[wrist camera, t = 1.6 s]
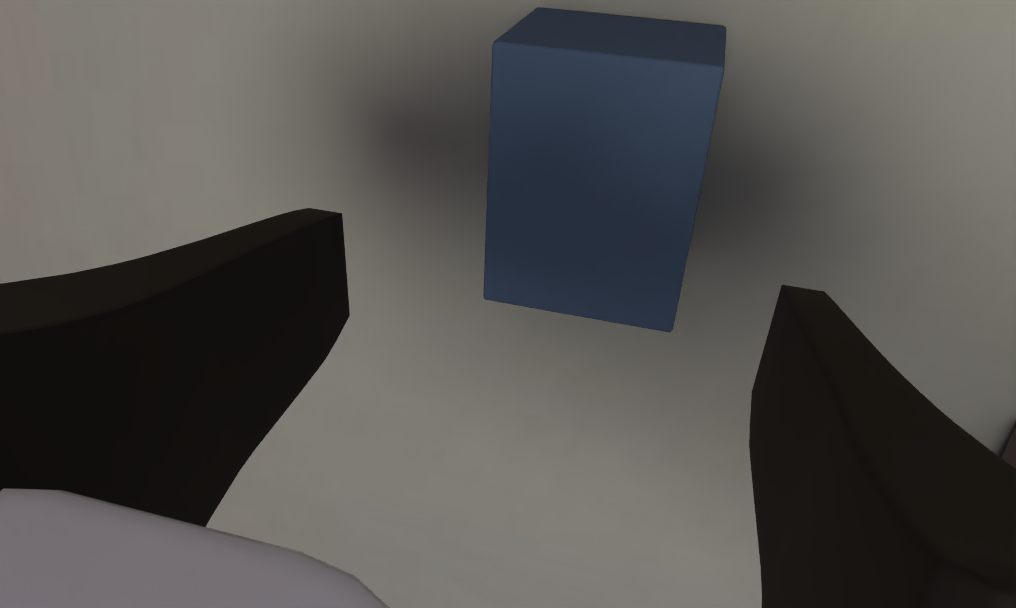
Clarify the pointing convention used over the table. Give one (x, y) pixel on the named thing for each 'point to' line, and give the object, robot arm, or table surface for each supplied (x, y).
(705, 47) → the blue rectangular block
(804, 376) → the robot arm
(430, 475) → the table surface
